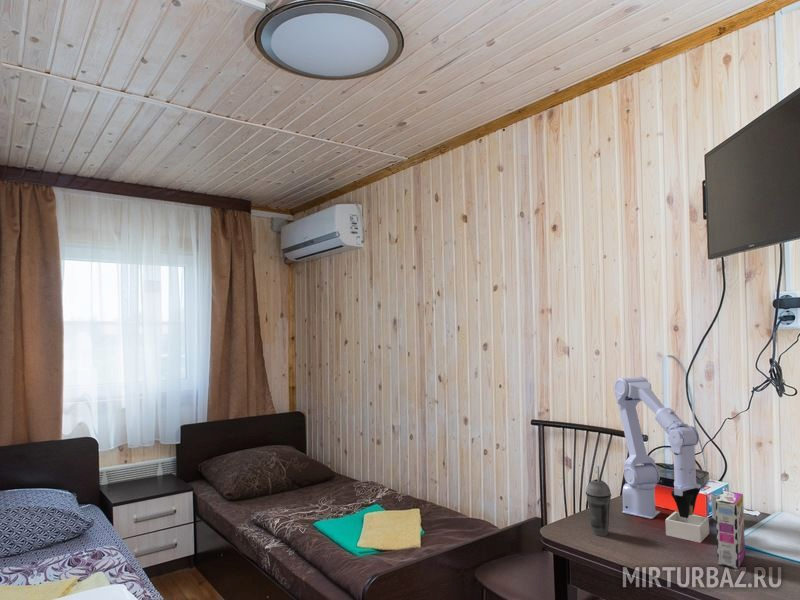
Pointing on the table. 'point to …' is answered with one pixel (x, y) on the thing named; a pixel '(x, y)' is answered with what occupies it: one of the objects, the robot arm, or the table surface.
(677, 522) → the white framed panel box
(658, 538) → the table surface
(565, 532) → the table surface
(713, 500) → the skincare box
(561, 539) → the table surface
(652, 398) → the robot arm
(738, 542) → the pink printed carton
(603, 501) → the beverage cup
